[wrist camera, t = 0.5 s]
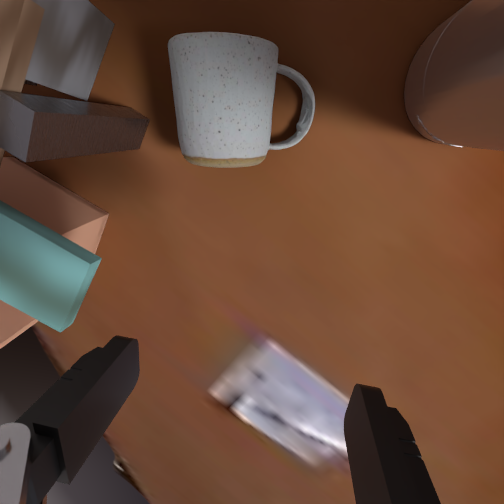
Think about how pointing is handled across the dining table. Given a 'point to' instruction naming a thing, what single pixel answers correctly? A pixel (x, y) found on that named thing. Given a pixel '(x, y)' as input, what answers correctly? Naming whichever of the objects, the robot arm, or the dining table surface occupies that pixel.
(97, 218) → the cup
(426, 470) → the robot arm
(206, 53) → the ceramic mug
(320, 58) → the dining table surface
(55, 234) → the lever board
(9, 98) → the pivot stand
